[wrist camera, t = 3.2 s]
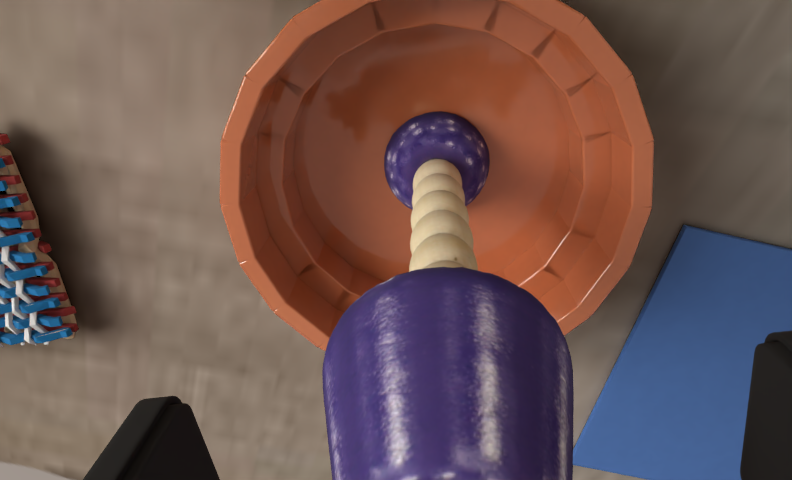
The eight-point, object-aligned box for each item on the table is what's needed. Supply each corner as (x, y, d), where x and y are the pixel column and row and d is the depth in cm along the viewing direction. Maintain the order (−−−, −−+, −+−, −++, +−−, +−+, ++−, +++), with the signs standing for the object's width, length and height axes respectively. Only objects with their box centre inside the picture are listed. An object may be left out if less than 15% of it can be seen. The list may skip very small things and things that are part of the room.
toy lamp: (476, 229, 23) (595, 687, 8) (368, 216, 23) (274, 654, 8) (498, 116, 21) (712, 440, 6) (378, 103, 21) (280, 393, 6)
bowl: (301, 332, 26) (280, 396, 22) (210, 10, 20) (158, 14, 16) (609, 294, 24) (648, 355, 20) (608, -63, 19) (662, -79, 14)
